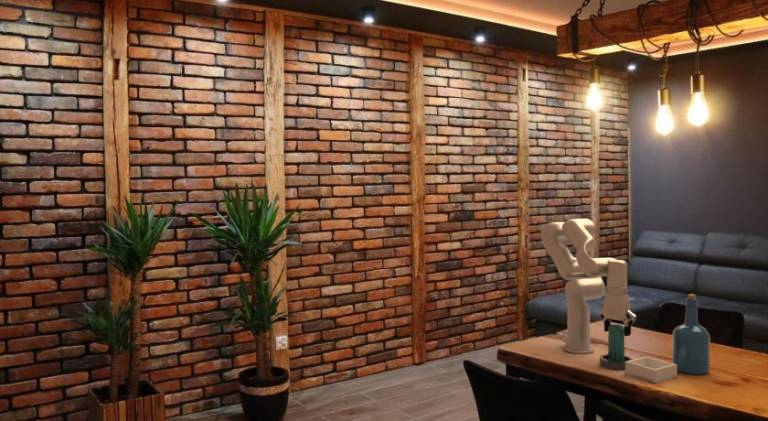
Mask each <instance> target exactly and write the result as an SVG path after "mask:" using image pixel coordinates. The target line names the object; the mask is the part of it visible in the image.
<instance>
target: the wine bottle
mask: <svg viewBox="0 0 768 421" xmlns="http://www.w3.org/2000/svg"><path fill="white" fill-rule="evenodd" d="M687 295H688V296H687V297H686V300H685V318H684V319H685V320H684V323H683V324H681V325H677V326H675V328H674V329H673V331H672V357H671V358H672V360H671V361H672V362H671V363H673V364H677V372H679V373H681V374H682V373H683V374H686V375H687V374H688V375H693V376H694V375H696V376H697V375H706V374H707V373H709V371H710V364H711V335H710V333H709V331H708V330H707V329H706V328H705V327H703V326H702V324H700V323H699V320H698V319H699V318H698V317H699V316H698V307H699V304H698V298H697V297H696V294H694V293H689V294H687Z"/></svg>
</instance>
